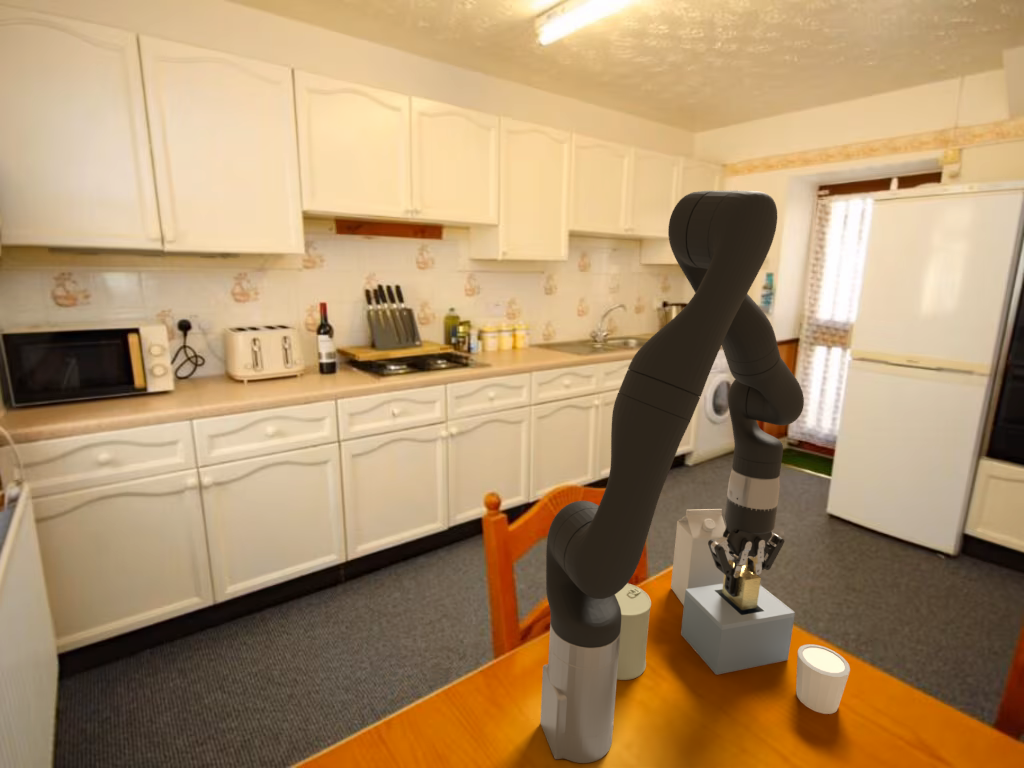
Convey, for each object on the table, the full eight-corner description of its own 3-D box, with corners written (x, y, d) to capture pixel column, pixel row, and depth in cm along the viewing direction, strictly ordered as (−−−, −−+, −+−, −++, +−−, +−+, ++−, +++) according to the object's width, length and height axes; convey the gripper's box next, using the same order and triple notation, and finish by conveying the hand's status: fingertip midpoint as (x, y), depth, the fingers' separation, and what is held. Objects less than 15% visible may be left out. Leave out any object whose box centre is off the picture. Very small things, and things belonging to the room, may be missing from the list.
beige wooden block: (741, 610, 87) (745, 580, 86) (722, 592, 91) (725, 563, 90) (756, 607, 87) (760, 577, 86) (736, 590, 92) (740, 561, 91)
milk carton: (670, 588, 108) (679, 502, 104) (703, 586, 109) (713, 501, 105) (685, 609, 101) (695, 518, 97) (720, 608, 102) (731, 517, 98)
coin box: (716, 674, 85) (722, 625, 83) (680, 634, 94) (685, 589, 92) (787, 660, 89) (795, 612, 87) (746, 622, 98) (752, 578, 96)
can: (657, 665, 87) (664, 600, 84) (617, 689, 81) (623, 620, 79) (616, 633, 94) (621, 572, 91) (578, 653, 89) (581, 589, 86)
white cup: (850, 721, 77) (858, 679, 75) (799, 712, 78) (806, 671, 76) (832, 686, 83) (839, 647, 82) (785, 678, 84) (791, 640, 83)
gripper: (730, 511, 80) (718, 612, 84) (805, 503, 84) (791, 600, 88) (700, 492, 87) (691, 585, 91) (771, 485, 91) (759, 575, 95)
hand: (740, 592), depth 89 cm, fingers closed on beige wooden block, 2 cm apart
